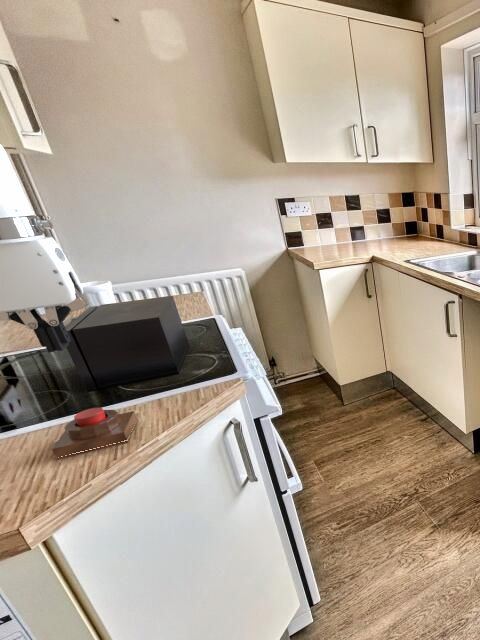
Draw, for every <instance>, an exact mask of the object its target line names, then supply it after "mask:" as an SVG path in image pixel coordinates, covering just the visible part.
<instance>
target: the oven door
mask: <svg viewBox="0 0 480 640" xmlns="http://www.w3.org/2000/svg"><path fill="white" fill-rule="evenodd" d="M98 307H99V306H93V307H89V308H88V309H87V310H85V309H84V311H83V312H82V313H81V314H79V315H76V316H70V317H68V318H67V319H65V320H64V321H63V324H64V326H65V328H66V330H67V332H68V334H69V336H70V339H71V341H70V342H69V345H68V346H67V347H66V348H65V349H66V350H67V353H68V354H69V356H70V358H71V360H72V363H73V364H74V367H75V368H76V371H77V373H78V375H79V377H80V379H81V381H82V383H83V385H84V387H85V390H86V391H87V393H90V392H95V391H98V390H99V388H98V386H97V383H96V381H95V379H94V377H93V374H92V372H91V370H90V368H89V365H88V363H87V361H86V359H85V356H84V354H83V352H82V350H81V347H80V345H79V343H78V341H77V339H76V336H75V334H74V332H73V329H74V328H75V327H76V326H77V325H78V324H79V323H81V322H82V321H83V320H84V319H85V318H86V317H87V316H89V315H90V314H91V313H92V312H93V311H94V310H96V309H97V308H98Z"/></svg>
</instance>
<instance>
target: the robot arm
mask: <svg viewBox="0 0 480 640" xmlns="http://www.w3.org/2000/svg"><path fill="white" fill-rule="evenodd" d="M53 229H54V225H53V223H52V221H51V220H49V219H42V218H39V217H38V216H37V215H35V213H34V212H33V209H32V206H31V205H30V202H29V200H28V198H27V195H26V194H25V190H24V189H23V187H22V185H21V182H20V180H19V178H18V175H17V173H16V171H15V168H14V167H13V163H12V162H11V160H10V157H9V155H8V153H7V151H6V149H5V148H4V146H3V145H2V144H1V143H0V321H13V322H15V323H18V324H20V325H23V326H25V327H26V328H27V329H29V330H33V332H34V334H35V337H36V338H37V340H38V342H39V344H40V346H41V347H42V348H46V350H47V352H48V353H55V352H56V351H57V352H62V351H64V350H65V349H67V348H66V347H67V346H68V345H69V342H70V341H71V339H70V336H69V334H68V332H67V330H66V328H65V326H64V324H63V322H65V321H66V318H67V317H68V316H69V315H70V313H73V312H76V311H79V310H82V309H85V308H84V307H86V306H87V305H88V302H87V301H86V300H85V299H84V297H83V296H82V295H83V293H84V292H83V288H82V286H81V281H80V279H79V277H78V275H77V273H76V272H75V270H74V268H73V266H72V265H71V263H70V261H69V259H68V258H67V256H66V255H65V253H64V251H63V250H62V248H61V247H60V245H59V244H58V243H57V241H56V240H55V238H54V237H53V236H44V234H45V231H47V230H53ZM42 308H44V309H43V310H44V314H45V317H46V320H45V318H44V317H43V316H42V314H41V312H40V311H39V310H38V309H42Z"/></svg>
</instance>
